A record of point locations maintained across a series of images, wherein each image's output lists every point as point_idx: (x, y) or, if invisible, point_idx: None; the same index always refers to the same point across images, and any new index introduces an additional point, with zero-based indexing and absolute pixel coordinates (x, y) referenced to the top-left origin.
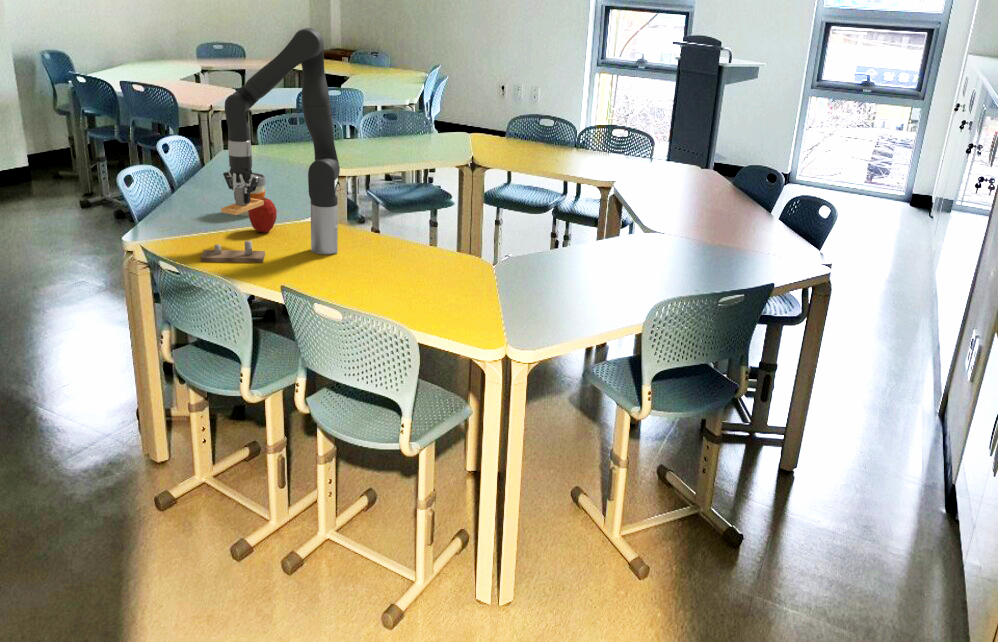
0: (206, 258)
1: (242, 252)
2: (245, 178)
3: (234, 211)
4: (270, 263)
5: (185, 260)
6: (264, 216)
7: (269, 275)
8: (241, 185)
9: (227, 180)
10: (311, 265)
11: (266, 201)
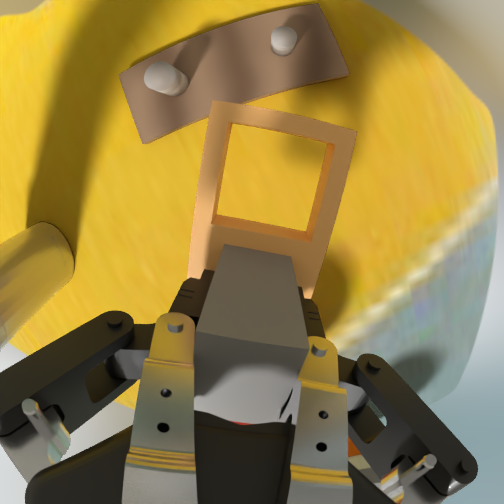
0: (299, 7)
1: (205, 91)
2: (112, 460)
3: (226, 103)
4: (105, 85)
5: (364, 11)
6: None
7: (81, 15)
8: (365, 470)
9: (419, 420)
10: (26, 136)
11: (238, 423)
